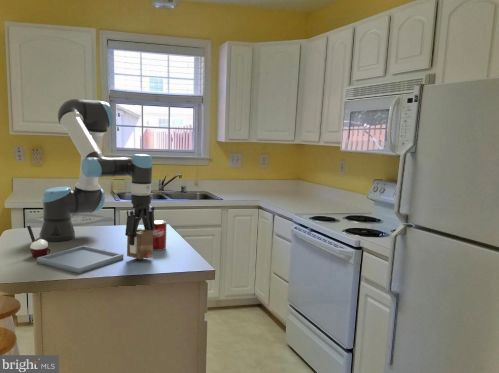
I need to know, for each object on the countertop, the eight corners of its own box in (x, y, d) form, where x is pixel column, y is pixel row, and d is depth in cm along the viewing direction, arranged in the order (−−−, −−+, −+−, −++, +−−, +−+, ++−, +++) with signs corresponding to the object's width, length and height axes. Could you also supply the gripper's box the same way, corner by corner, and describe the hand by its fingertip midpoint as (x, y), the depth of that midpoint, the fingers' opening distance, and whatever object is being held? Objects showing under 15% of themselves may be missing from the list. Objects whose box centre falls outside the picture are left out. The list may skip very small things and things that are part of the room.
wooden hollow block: (127, 256, 166) (127, 231, 165) (139, 252, 172) (139, 228, 171) (143, 260, 162) (144, 234, 161) (155, 255, 168) (156, 231, 167)
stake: (136, 260, 167) (136, 231, 166) (139, 258, 169) (140, 230, 168) (140, 261, 166) (140, 232, 165) (144, 259, 168) (144, 231, 167)
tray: (37, 262, 158) (37, 257, 157) (84, 249, 177) (84, 245, 177) (78, 273, 148) (78, 268, 148) (123, 259, 167) (123, 254, 167)
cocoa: (52, 257, 166) (54, 228, 165) (37, 260, 161) (38, 230, 160) (38, 252, 171) (40, 223, 170) (23, 254, 166) (25, 225, 165)
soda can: (161, 251, 181) (162, 224, 179) (146, 249, 182) (146, 222, 180) (168, 247, 188) (169, 221, 186) (153, 245, 189) (153, 219, 188)
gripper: (130, 197, 154) (129, 258, 157) (164, 192, 171) (163, 246, 174) (115, 195, 157) (114, 254, 160) (150, 190, 175) (149, 243, 178)
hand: (139, 250), depth 167 cm, fingers closed on wooden hollow block, 7 cm apart
